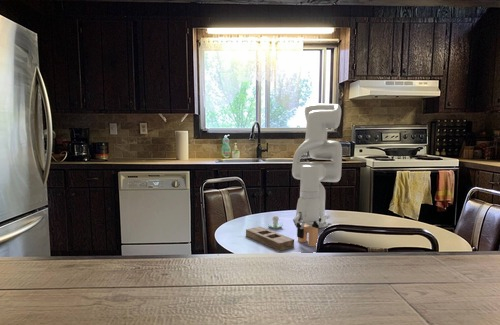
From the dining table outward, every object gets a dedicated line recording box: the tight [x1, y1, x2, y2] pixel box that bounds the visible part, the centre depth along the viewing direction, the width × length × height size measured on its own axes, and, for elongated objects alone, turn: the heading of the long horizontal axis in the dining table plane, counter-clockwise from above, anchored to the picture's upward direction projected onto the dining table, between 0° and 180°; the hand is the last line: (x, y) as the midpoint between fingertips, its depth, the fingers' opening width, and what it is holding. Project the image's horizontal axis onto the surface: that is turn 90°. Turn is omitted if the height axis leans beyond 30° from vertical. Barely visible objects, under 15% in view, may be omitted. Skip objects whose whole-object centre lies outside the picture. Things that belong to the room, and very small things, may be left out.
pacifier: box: [267, 215, 284, 230], centre depth 161 cm, size 7×6×6 cm
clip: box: [297, 223, 319, 247], centre depth 139 cm, size 3×8×7 cm, turn 37°
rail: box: [245, 226, 295, 251], centre depth 141 cm, size 8×22×3 cm, turn 37°
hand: (307, 235), depth 139 cm, fingers open, 8 cm apart
